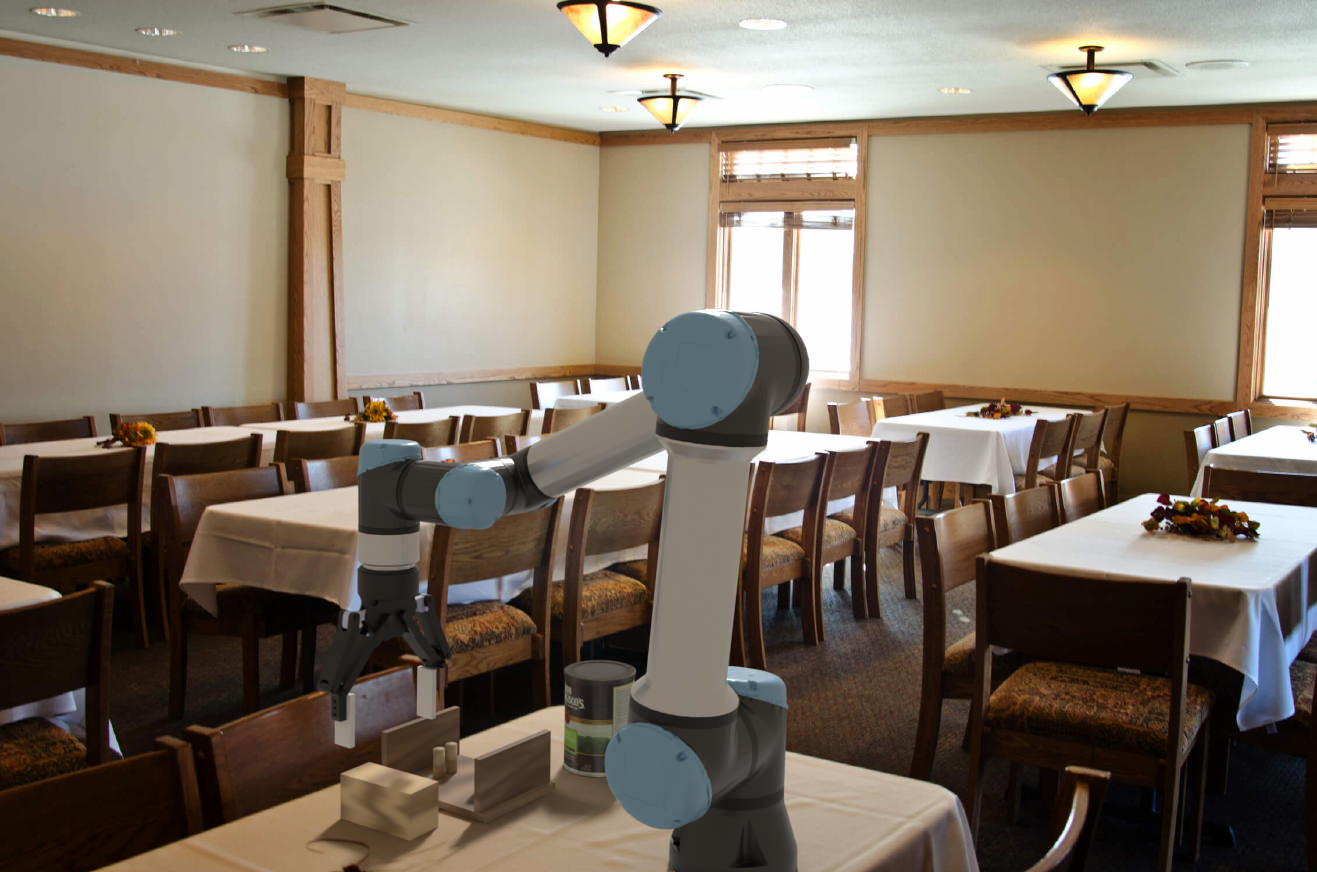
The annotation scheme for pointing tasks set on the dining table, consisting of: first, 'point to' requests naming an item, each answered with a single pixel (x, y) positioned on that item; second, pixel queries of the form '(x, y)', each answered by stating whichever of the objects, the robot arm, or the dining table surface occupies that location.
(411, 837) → the beam
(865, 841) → the dining table surface
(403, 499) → the robot arm
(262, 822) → the dining table surface
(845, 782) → the dining table surface
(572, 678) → the coffee can
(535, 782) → the peg frame
